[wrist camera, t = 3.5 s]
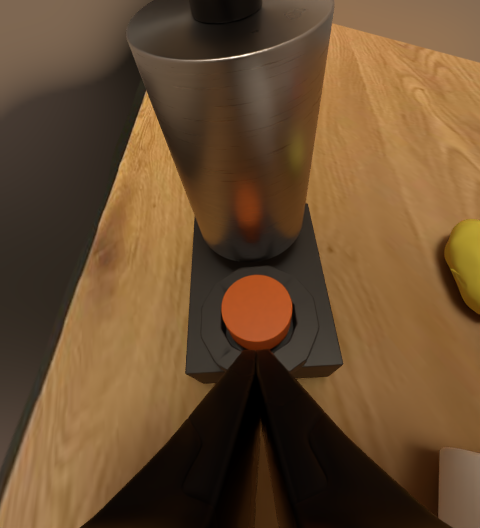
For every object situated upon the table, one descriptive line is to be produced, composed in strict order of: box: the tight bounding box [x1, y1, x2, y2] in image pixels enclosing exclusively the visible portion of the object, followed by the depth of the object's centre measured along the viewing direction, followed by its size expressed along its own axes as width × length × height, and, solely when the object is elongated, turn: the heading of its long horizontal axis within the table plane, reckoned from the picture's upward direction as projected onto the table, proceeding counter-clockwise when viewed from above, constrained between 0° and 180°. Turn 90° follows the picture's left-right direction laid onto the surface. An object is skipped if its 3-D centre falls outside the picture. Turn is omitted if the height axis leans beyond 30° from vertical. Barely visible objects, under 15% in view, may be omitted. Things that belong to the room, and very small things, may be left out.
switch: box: [221, 275, 292, 351], centre depth 14 cm, size 4×4×2 cm
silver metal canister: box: [126, 0, 334, 262], centre depth 13 cm, size 7×7×12 cm
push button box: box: [185, 204, 343, 383], centre depth 19 cm, size 13×9×6 cm
